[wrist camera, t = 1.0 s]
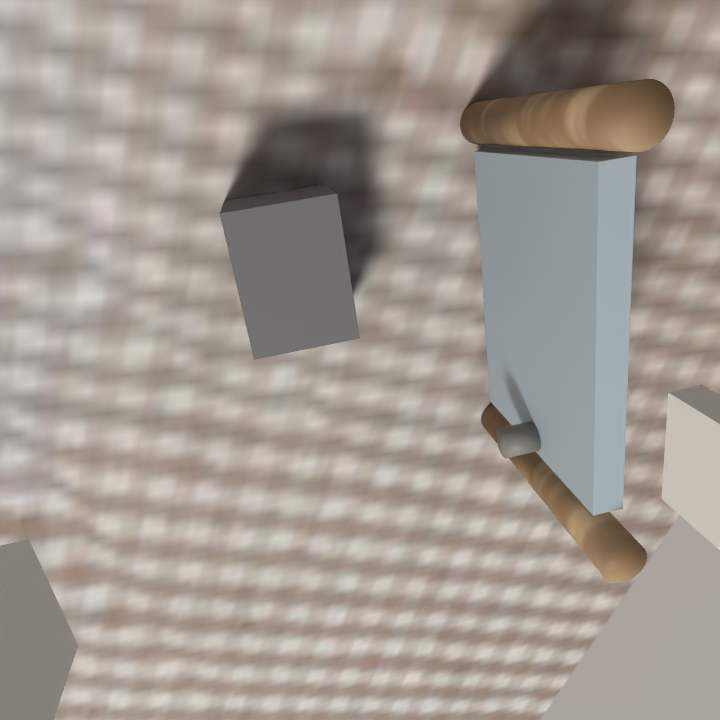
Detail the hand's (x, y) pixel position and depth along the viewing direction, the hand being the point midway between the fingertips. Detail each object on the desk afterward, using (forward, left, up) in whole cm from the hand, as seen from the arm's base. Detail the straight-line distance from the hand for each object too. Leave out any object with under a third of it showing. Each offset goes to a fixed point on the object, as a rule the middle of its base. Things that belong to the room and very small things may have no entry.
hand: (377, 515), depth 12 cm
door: (+4, +12, -25) cm, 28 cm away
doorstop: (0, 0, -27) cm, 27 cm away
